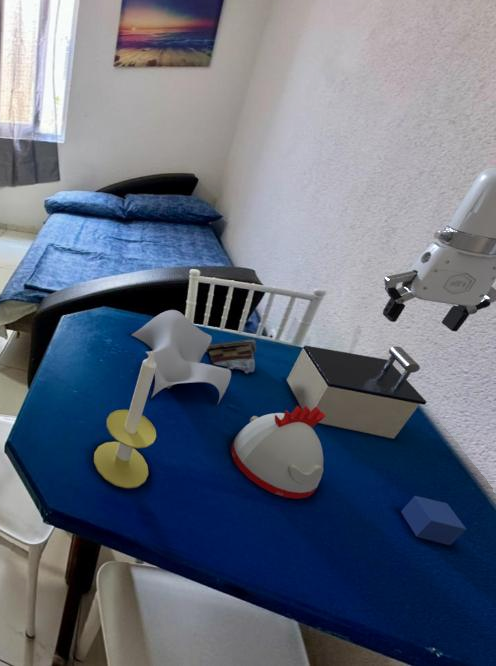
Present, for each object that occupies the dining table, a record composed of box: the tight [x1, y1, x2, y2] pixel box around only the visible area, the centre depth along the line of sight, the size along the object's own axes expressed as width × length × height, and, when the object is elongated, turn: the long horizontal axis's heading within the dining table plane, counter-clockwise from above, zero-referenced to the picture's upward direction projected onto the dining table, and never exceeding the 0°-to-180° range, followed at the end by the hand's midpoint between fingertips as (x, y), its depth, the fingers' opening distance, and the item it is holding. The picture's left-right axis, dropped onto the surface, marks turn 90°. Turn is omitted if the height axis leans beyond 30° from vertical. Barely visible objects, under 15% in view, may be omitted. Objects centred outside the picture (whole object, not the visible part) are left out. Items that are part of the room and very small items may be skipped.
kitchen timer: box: [230, 405, 326, 500], centre depth 74 cm, size 14×14×15 cm
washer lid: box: [302, 345, 427, 406], centre depth 85 cm, size 16×14×7 cm
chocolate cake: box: [205, 338, 258, 374], centre depth 103 cm, size 10×7×12 cm
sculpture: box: [131, 309, 232, 406], centre depth 100 cm, size 25×19×10 cm
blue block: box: [400, 495, 467, 546], centre depth 67 cm, size 4×4×4 cm
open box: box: [286, 347, 420, 440], centre depth 89 cm, size 16×14×10 cm
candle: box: [93, 350, 157, 489], centre depth 70 cm, size 10×10×27 cm
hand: (418, 322), depth 79 cm, fingers open, 9 cm apart
